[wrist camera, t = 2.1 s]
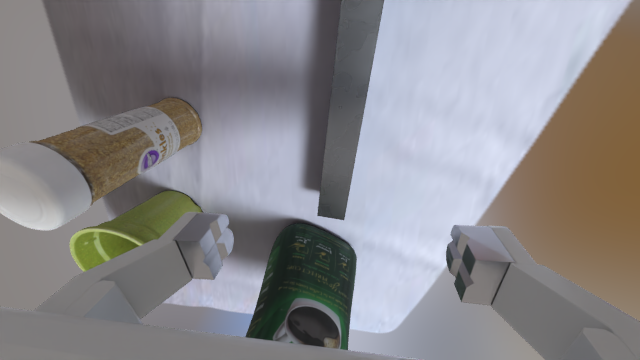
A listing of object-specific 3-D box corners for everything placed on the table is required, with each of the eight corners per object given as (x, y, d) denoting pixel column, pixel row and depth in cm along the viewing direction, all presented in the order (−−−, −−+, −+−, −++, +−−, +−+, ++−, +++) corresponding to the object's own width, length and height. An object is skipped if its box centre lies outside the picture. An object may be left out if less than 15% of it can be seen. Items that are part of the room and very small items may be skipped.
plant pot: (215, 186, 27) (160, 241, 20) (221, 247, 32) (178, 311, 25) (134, 170, 28) (51, 218, 20) (152, 232, 33) (90, 290, 25)
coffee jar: (267, 253, 31) (170, 476, 15) (292, 210, 27) (195, 452, 11) (334, 284, 32) (309, 523, 17) (367, 247, 29) (376, 515, 13)
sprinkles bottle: (205, 147, 25) (70, 242, 13) (161, 137, 25) (-9, 222, 14) (202, 101, 23) (37, 169, 11) (154, 90, 23) (-59, 146, 11)
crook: (358, -107, 15) (358, -150, 11) (487, -99, 14) (527, -141, 11) (323, 191, 26) (317, 215, 22) (395, 203, 25) (400, 229, 22)
